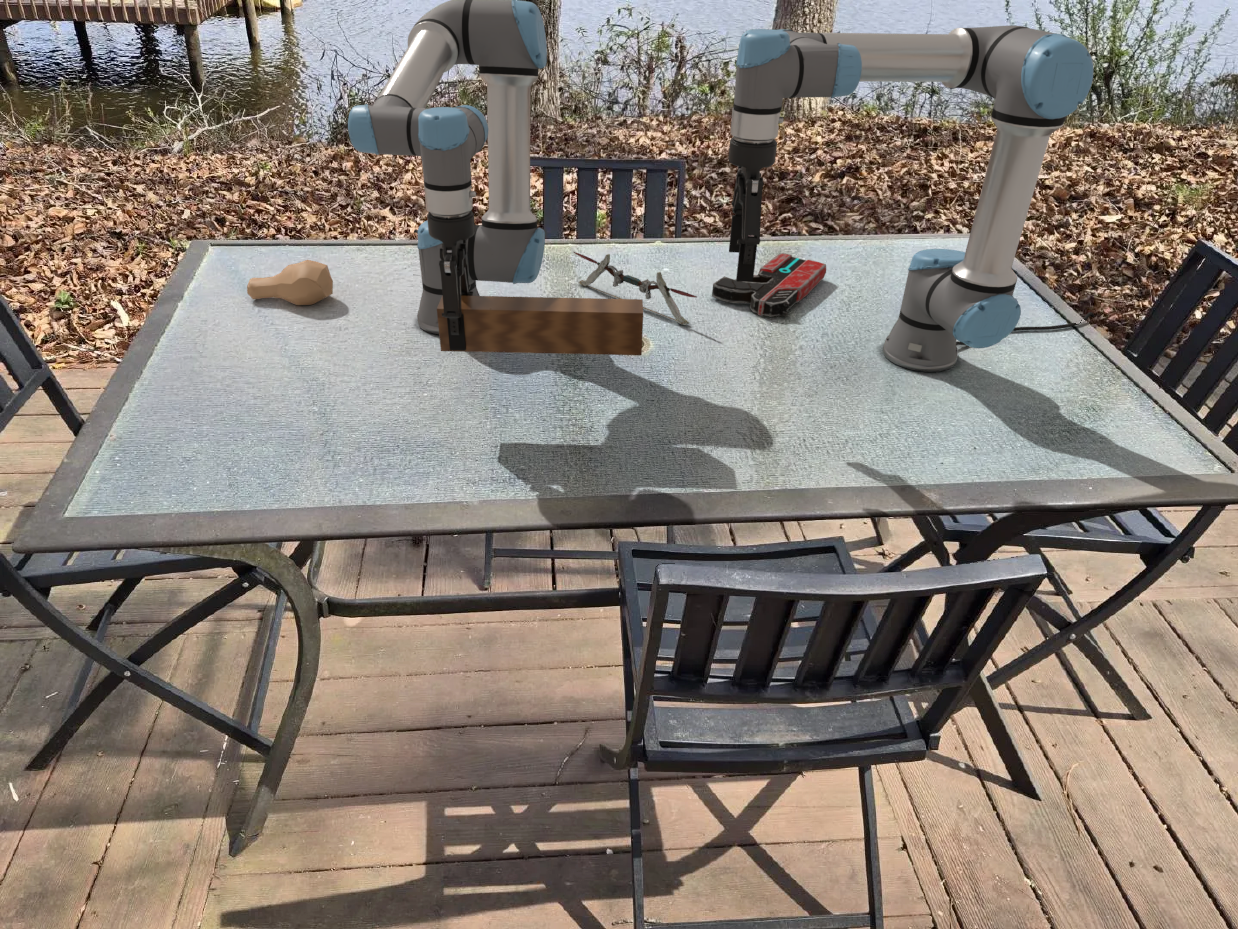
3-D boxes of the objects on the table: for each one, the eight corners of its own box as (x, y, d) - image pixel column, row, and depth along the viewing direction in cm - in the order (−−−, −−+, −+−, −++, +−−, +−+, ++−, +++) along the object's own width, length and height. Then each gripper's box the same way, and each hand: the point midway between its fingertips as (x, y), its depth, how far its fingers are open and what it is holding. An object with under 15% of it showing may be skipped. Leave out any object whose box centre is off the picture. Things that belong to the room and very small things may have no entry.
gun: (708, 284, 207) (784, 305, 199) (760, 245, 229) (831, 262, 221) (706, 302, 209) (781, 323, 201) (758, 261, 231) (828, 278, 223)
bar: (440, 351, 153) (436, 308, 148) (446, 336, 158) (442, 294, 153) (641, 355, 153) (643, 313, 149) (640, 340, 158) (642, 299, 154)
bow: (697, 327, 197) (701, 285, 192) (692, 329, 196) (696, 287, 191) (576, 279, 219) (576, 241, 213) (571, 281, 218) (571, 242, 212)
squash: (332, 309, 201) (318, 275, 195) (248, 317, 202) (232, 283, 196) (343, 284, 209) (330, 250, 203) (262, 291, 210) (247, 258, 204)
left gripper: (464, 231, 134) (474, 366, 147) (481, 194, 150) (488, 319, 163) (415, 230, 134) (429, 365, 147) (437, 193, 150) (448, 318, 163)
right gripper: (789, 159, 129) (771, 294, 141) (767, 120, 150) (753, 241, 162) (738, 158, 129) (724, 293, 141) (723, 119, 150) (713, 240, 162)
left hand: (460, 340), depth 155 cm, fingers closed on bar, 6 cm apart
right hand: (740, 265), depth 151 cm, fingers open, 13 cm apart
